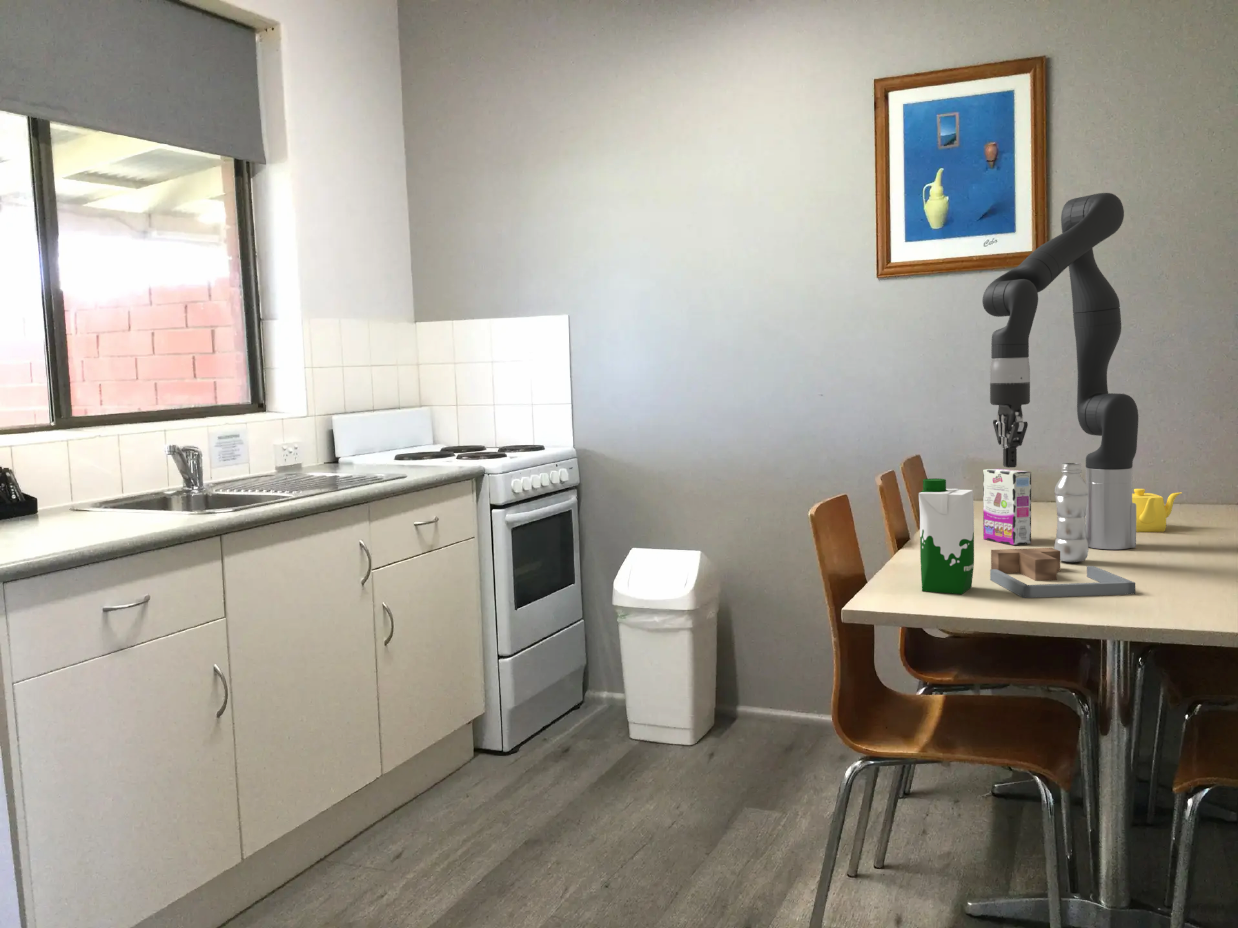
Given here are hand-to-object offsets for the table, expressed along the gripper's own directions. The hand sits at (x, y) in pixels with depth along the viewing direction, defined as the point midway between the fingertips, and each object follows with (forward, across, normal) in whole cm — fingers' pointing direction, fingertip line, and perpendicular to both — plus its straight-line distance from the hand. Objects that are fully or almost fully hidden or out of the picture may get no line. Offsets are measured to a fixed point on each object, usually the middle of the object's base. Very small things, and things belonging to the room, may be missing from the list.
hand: (1009, 466), depth 214 cm
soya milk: (+20, -23, +20) cm, 36 cm away
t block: (+20, -12, 0) cm, 23 cm away
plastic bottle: (+20, -1, -12) cm, 23 cm away
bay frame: (+20, -24, 0) cm, 31 cm away
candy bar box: (+20, +26, -9) cm, 34 cm away
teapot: (+20, +38, -45) cm, 62 cm away
